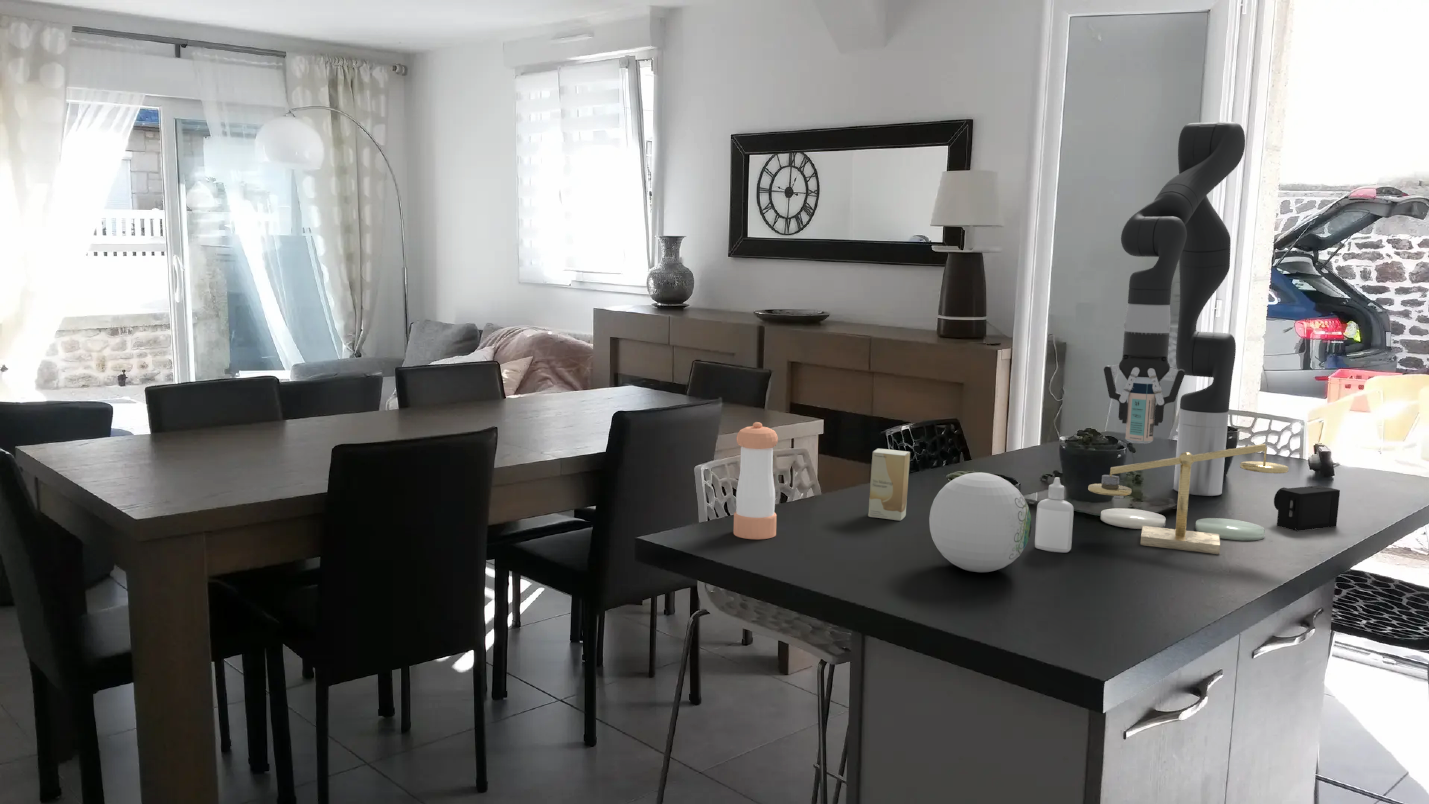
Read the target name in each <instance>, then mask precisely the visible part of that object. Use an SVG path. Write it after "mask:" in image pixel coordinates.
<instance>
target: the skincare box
mask: <svg viewBox="0 0 1429 804" xmlns="http://www.w3.org/2000/svg"><path fill="white" fill-rule="evenodd" d="M871 456H872V459H871V471H870V483H869V484H870V485H869V486H870V487H869V499H868V514H867V516H868V517H869V518H877V519H878V518H879V519H883V520H884V519H886V520H892V521H893V520H894V521H898V522H899V521H900V522H901V521H902V520H903V519H904V518H905V517H906V516H907V503H908V500H907V499H908V489H909V473H910V462H911V460H910V459H911V451H905V450H896V449H887V448H876V449H875V450H873V451H872V455H871Z"/></svg>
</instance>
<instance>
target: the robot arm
mask: <svg viewBox="0 0 1429 804" xmlns="http://www.w3.org/2000/svg"><path fill="white" fill-rule="evenodd" d="M1243 128H1244V127H1243V126H1242V125H1241V124H1240V123H1238V122H1235V121H1209V122H1207V121H1206V122H1190V123H1187V124H1185V125H1184V126H1183V127H1182V129H1181V131H1180V134H1179V137H1178V144H1177V145H1178V146H1177V159H1178V160H1177V162H1178V174H1177V175H1175V176H1173V178H1171V179H1170V180H1169V181H1167V182H1166V183H1165V185H1164V186H1162V188H1161V190H1160V191H1159V193H1157V196H1156V197H1155V198H1154V200H1153V201H1151V202H1150V203H1148V204H1146V205H1145V206H1144V207H1142V208H1141V209H1139V210H1138V211H1137V212H1135V213H1134V214H1133V215H1132V216H1131V217H1130V218H1129V219H1128V220H1127V221H1126V223H1125V224H1124V226H1123V228H1122V231H1121V235H1120V236H1121V237H1120V243H1121V247H1122V248H1123V250H1124V252H1126V253H1127V254H1128V255H1130V256H1133V257H1141V258H1143V257H1147V258H1148V257H1149V258H1153V257H1154V258H1156V257H1157V258H1158V259H1157V261H1156V262H1155V264H1154V266H1153V267H1151V268H1148V269H1142V270H1137V271H1134V272H1133V273H1132V274H1131V275H1130V277H1129V280H1128V281H1129V282H1128V294H1127V295H1128V297H1127V307H1126V310H1125V311H1126V312H1125V317H1124V324H1123V327H1124V334H1123V347H1122V357H1121V361H1119V363H1118V364H1113V365H1109V364H1107V365H1105V366H1104V368H1103V373H1104V378H1105V379H1104V380H1105V384H1106V388H1107V393H1108V396H1109V398H1110V400H1111V399H1112V400H1116V401H1117V402H1118V403H1119V404H1118V420H1120V421H1121V424H1124V425H1125V424H1127V410H1128V396H1129V393H1130V391H1131V389H1132V387H1133V382H1134V380H1135V379H1136V378H1137V377H1148V378H1150V379H1151V381H1152V383H1153V387H1152V388H1153V392H1154V394H1155V398H1156V404H1155V418H1154V427H1155V426H1156V427H1159V424H1161V423H1163V421H1164V413H1165V411H1164V410H1165V405H1167V404H1170V403H1174V402H1176V399H1177V396H1178V395H1179V392H1180V389H1181V386H1182V382H1183V380H1184V377H1185V376H1189V377H1190V376H1191V377H1203V378H1212V382H1211V384H1210V385H1209V386H1206V387H1204V388H1201V389H1200V390H1197V391H1196V390H1195V391H1191V392H1187V393H1184V394H1183V395H1181V397H1180V401H1179V412H1178V413H1179V415H1178V427H1177V440H1176V450H1175V451H1176V453H1175V457H1179V456H1180V454H1182V453H1184V452H1189V453H1191V454H1192V455H1195V454H1201V453H1208V452H1214V451H1221V450H1227V447H1226V446H1227V438H1228V437H1227V436H1228V424H1229V422H1228V421H1229V414H1230V413H1229V411H1230V401H1231V399H1230V398H1231V390H1232V381H1233V373H1234V369H1235V368H1234V367H1235V361H1236V353H1237V351H1236V349H1237V345H1236V339H1235V337H1234V336H1233V335H1232V334H1231V333H1228V332H1227V333H1226V332H1214V331H1213V332H1212V331H1197V324H1198V320H1199V317H1200V315H1201V313H1202V311H1203V310H1204V307H1205V306H1206V305H1207V303H1208V302H1209V300H1210V299H1211V298H1212V296H1213V295H1214V294H1215V292H1216V291H1217V290H1218V288H1219V287H1220V286H1221V285H1222V284H1223V282H1224V280H1225V279H1226V277H1227V275H1228V273H1229V271H1230V267H1231V244H1232V243H1231V236H1230V232H1229V230H1228V228H1227V226H1226V225H1225V222H1224V221H1223V220H1222V218H1221V217H1220V215H1219V214H1218V212H1217V211H1216V209H1215V208H1214V206H1213V204H1212V203H1211V202H1210V200H1209V197H1208V194H1209V193H1211V191H1212V190H1214V189H1215V188H1216V187H1217V186H1218V185H1219V184H1220V183H1222V182H1223V180H1225V179H1226V177H1228V176H1229V175H1230V174H1231V173H1232V172H1233V171H1234V170H1235V169H1236V168H1237V167H1238V165H1239V163H1241V160H1242V158H1243V156H1244V152H1245V148H1246V136H1245V135H1246V134H1245V131H1244V129H1243ZM1178 265H1179V266H1178ZM1177 266H1178V267H1179V272H1178V273H1179V307H1178V309H1179V311H1178V321H1177V322H1178V323H1177V331H1176V332H1177V334H1176V346H1175V364H1176V365H1175V366H1176V367H1171V365H1170V363H1169V361H1168V359H1169V345H1170V333H1171V300H1172V299H1171V296H1172V285H1173V279H1174V276H1175V272H1176V269H1177ZM1119 370H1120V371H1121V374H1122V375H1123V376H1124V378H1125V379H1126V383H1125V385H1124V387H1123V390H1122V391H1121V393H1120V392H1118V391H1117V388H1116V382H1115V379H1114V378H1115V377H1117V375H1118V371H1119ZM1168 373H1169V374H1170V379H1171V380H1172V381H1173V383H1172V386H1171V388H1170V391H1169V394H1168V395H1164V394H1163V391H1162V387H1161V383H1160V382H1161V381H1162V380H1163V379H1164V377H1165V376H1166V375H1167V374H1168ZM1154 381H1155V382H1154ZM1129 384H1130V385H1129ZM1155 385H1156V386H1155ZM1225 458H1226V457H1222V458H1216V459H1209V460H1203V461H1196V462H1193V464H1192V465H1191V473H1190V485H1189V495H1195V496H1209V497H1210V496H1211V497H1213V496H1220V495H1222V494H1223V484H1224V483H1223V482H1224V473H1225V472H1224V470H1225V461H1226V460H1225ZM1174 466H1175V467H1174V478H1173V490H1174V491H1176V492H1179V479H1180V467H1181V464H1176V465H1174Z"/></svg>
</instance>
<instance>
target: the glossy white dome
mask: <svg viewBox="0 0 1429 804" xmlns="http://www.w3.org/2000/svg"><path fill="white" fill-rule="evenodd" d="M1100 520H1101V521H1102V522H1103V523H1105V524H1108V525H1112V526H1115V527H1119V528H1125V529H1133V530H1134V529H1135V530H1136V529H1137V530H1142V528H1143V526H1149V527H1158V528H1165V527H1166V521H1167V519H1166V517H1165V516H1164V515H1162V514H1159V513H1157V512H1153V511H1148V510H1144V509H1143V510H1142V509H1137V508H1124V507H1123V508H1118V507H1116V508H1114V507H1113V508H1106V509H1103V510H1101V512H1100Z"/></svg>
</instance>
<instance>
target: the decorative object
mask: <svg viewBox="0 0 1429 804" xmlns="http://www.w3.org/2000/svg"><path fill="white" fill-rule="evenodd" d="M928 522H929V532H930V536H931V539H932V540H933V543H934V545H935V546H936V547H935V548H937V550H938V551H939V552H940V554H941V555H942V557H944V558H945V559H946V560H947V561H949V563H951V564H952V565H954V566H956V567H957V568H960V569H962V570H965V571H968V572H975V573H989V572H994V571H997V570H998V571H999V570H1000V569H1004V568H1005V567H1007V566H1008V565H1010V564H1012V563H1013V562H1014V561H1016V560H1017V558H1018V557H1020V556H1021V554H1022V552H1024V550H1025V548H1026V546H1027V545H1028V543H1029V539H1030V537H1031V531H1032V516H1031V512H1030V508H1029V505H1028V503H1027V501H1026V499H1025V497H1024V495H1023V494H1022V493H1021V492H1020V490H1019V489H1018V488H1017V487H1016V486H1015V485H1014V484H1012V483H1011V482H1010V481H1009V480H1007V479H1004V478H1003V477H1001V476H1000V475H999V476H998V475H996V474H993V473H989V472H981V471H980V472H970V473H965V474H962V475H960V476H957V477H955V478H953V479H952V480H950V481H949V482H947V483H946V484H945V485H944V486H943V487H942V488H941V489H940V490H939V491H938V493H937V494H936V496H935V497H934V499H933V502H932V504H931V506H930V512H929V519H928Z"/></svg>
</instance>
